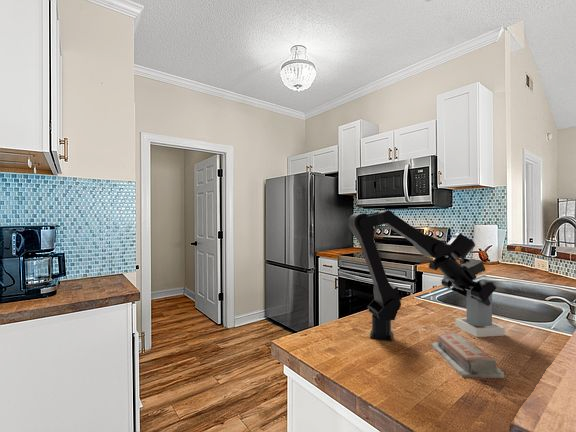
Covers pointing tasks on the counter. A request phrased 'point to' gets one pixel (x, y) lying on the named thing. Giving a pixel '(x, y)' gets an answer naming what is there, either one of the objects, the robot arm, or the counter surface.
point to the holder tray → (480, 332)
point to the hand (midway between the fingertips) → (482, 302)
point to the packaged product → (466, 357)
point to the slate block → (478, 311)
